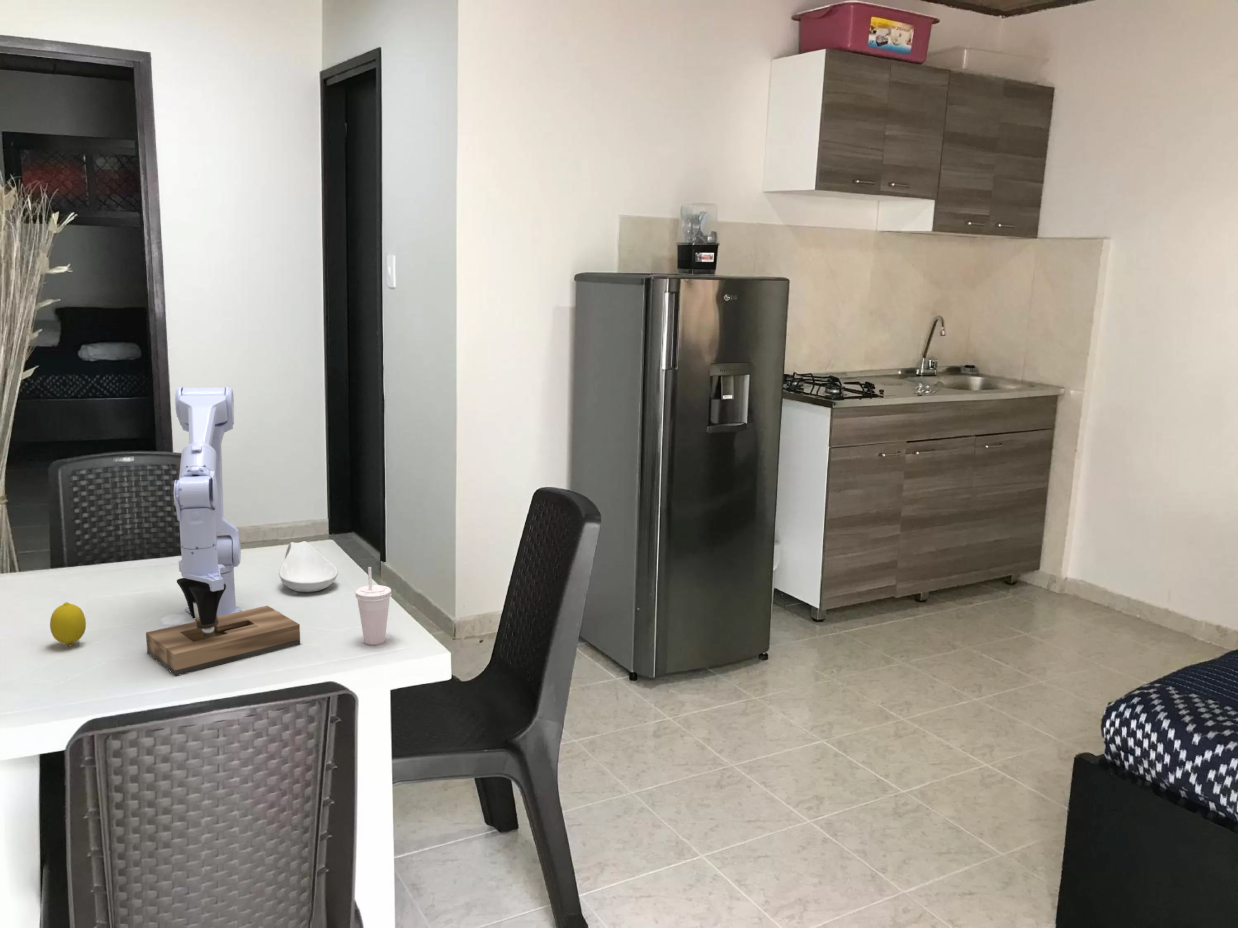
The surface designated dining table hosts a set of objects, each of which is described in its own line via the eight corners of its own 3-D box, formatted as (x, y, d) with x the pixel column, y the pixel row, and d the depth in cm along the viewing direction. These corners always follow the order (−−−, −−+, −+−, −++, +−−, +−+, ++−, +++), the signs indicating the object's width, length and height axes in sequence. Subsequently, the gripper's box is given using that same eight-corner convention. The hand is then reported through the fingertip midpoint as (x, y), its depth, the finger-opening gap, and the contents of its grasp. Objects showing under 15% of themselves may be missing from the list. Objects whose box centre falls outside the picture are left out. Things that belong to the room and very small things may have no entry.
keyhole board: (147, 652, 178) (145, 632, 177) (268, 624, 192) (267, 605, 192) (175, 675, 168) (174, 654, 168) (300, 644, 183) (299, 624, 182)
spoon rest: (343, 593, 212) (342, 560, 210) (285, 601, 206) (283, 567, 205) (320, 563, 232) (319, 532, 231) (266, 568, 227) (265, 537, 225)
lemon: (72, 652, 177) (68, 609, 175) (44, 649, 178) (40, 606, 176) (94, 641, 182) (91, 598, 180) (67, 638, 183) (63, 596, 182)
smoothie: (359, 634, 189) (357, 562, 186) (394, 634, 189) (393, 562, 186) (353, 647, 182) (351, 572, 180) (390, 647, 183) (388, 572, 180)
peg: (191, 645, 179) (184, 601, 176) (218, 637, 182) (212, 593, 180) (202, 653, 175) (195, 608, 173) (229, 645, 178) (223, 600, 176)
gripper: (239, 549, 172) (243, 626, 174) (205, 532, 182) (209, 604, 185) (197, 557, 167) (202, 635, 170) (164, 538, 177) (169, 612, 180)
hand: (203, 620), depth 177 cm, fingers closed on peg, 4 cm apart
